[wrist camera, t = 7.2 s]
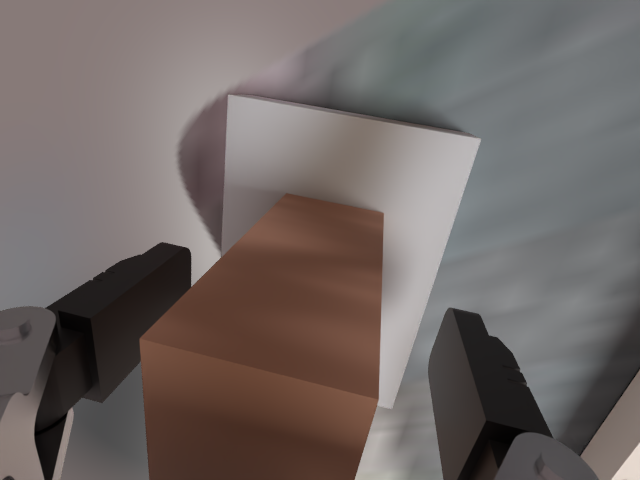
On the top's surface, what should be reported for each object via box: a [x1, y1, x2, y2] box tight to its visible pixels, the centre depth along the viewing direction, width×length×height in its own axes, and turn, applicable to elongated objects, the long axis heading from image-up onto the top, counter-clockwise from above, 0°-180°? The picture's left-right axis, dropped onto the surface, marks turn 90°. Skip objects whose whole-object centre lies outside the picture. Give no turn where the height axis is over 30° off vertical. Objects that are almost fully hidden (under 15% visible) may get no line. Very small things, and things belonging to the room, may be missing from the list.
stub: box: [139, 94, 481, 480], centre depth 9 cm, size 7×10×8 cm
